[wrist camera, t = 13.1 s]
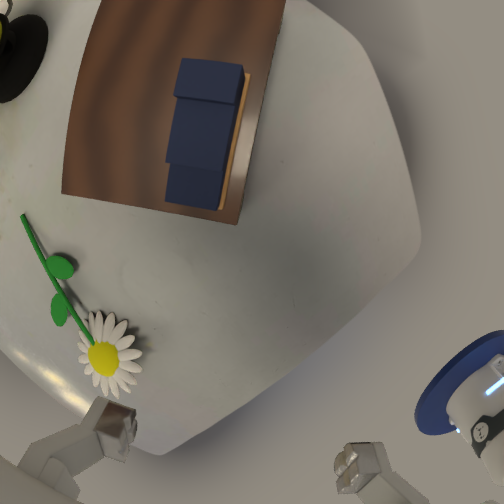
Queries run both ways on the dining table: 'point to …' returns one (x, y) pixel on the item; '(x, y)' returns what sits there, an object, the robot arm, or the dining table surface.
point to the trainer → (204, 131)
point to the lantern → (20, 52)
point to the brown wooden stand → (159, 95)
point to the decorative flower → (93, 332)
